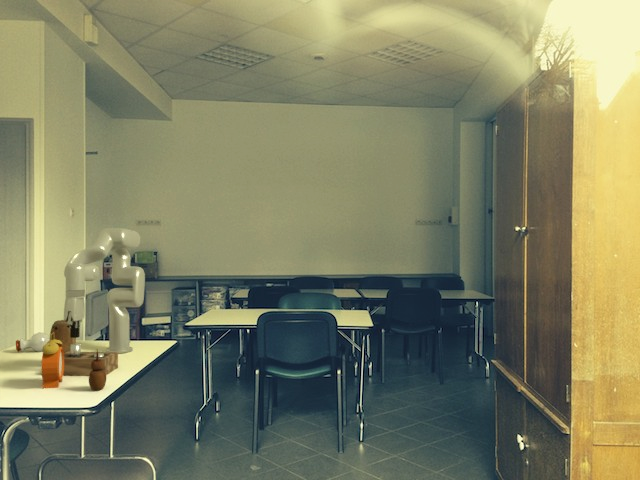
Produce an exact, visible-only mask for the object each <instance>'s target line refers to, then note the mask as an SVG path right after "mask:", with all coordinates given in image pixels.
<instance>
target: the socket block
mask: <svg viewBox="0 0 640 480" xmlns="http://www.w3.org/2000/svg"><path fill="white" fill-rule="evenodd" d="M98 353H104V356H103V357H99V359H101V360H103V361H104V367H103V369H104V370H105V372H106V376H108V375H109V374H111V373H113V371H115V370H117V369H118V368H119V353H118V352H106V351H98ZM94 354H97V351H81V356H79V357H70V351H68V352H66V353H64V372H63V377H64V376H65V377H69V376H70V377H72V376H73V377H78V376H79V377H89V374H90V372H91V371H92V368H91V362H92V361H93V360H96V357H94Z"/></svg>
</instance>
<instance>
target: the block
mask: <svg viewBox="0 0 640 480" xmlns="http://www.w3.org/2000/svg"><path fill="white" fill-rule="evenodd" d="M72 321H73V320H72ZM53 332H54V333H53ZM52 333H53V334H52ZM51 334H52V335H51ZM49 338H50V340H54V339H56V340H60V341H61V342H62V346H61V347H62V348H63V351H64V353H66V352H68V351H70V344H72V343H77V338H71V337H70V325H68V321H67V322H65V321H64V319H61V320H55V321H54V322H53V323H52V325H51V328H50V333H49Z"/></svg>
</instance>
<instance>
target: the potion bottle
mask: <svg viewBox="0 0 640 480" xmlns="http://www.w3.org/2000/svg"><path fill="white" fill-rule="evenodd" d="M48 341H50V335H48V334H46V332H45V333H44V332H37V333H34V334H32V336H31V337H30V339H24V338H23V337H22V338H21V339H20V340H19V339H17V340H15V350H16V351H17V352H18V353H19V352H20V351H21V352H22V353H24V352H25V351H26V350H28V349H32V350H33V351H34V352H37V353H41V352H43V351H42V349H43V346H44V345H45V344H47V342H48Z"/></svg>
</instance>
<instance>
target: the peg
mask: <svg viewBox="0 0 640 480" xmlns="http://www.w3.org/2000/svg"><path fill="white" fill-rule="evenodd" d="M81 345H82V344H81V342H76V343H72V344H70V357H79V356H81V352H82V350H81V349H82V346H81Z"/></svg>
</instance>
